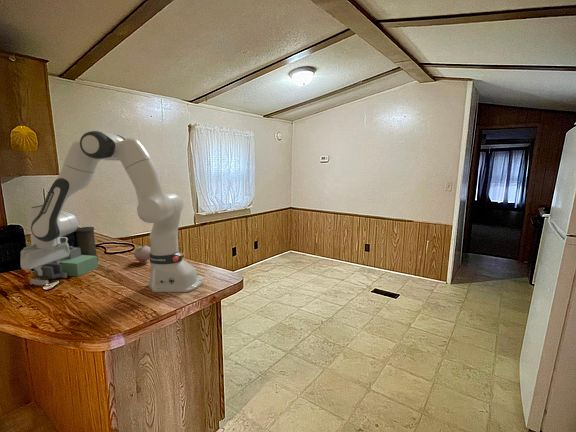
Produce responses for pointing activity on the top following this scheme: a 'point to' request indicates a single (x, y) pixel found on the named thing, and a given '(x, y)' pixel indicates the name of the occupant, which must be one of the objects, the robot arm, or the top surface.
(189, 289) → the robot arm
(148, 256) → the decorative fruit
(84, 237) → the container
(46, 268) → the chute
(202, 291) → the top surface
